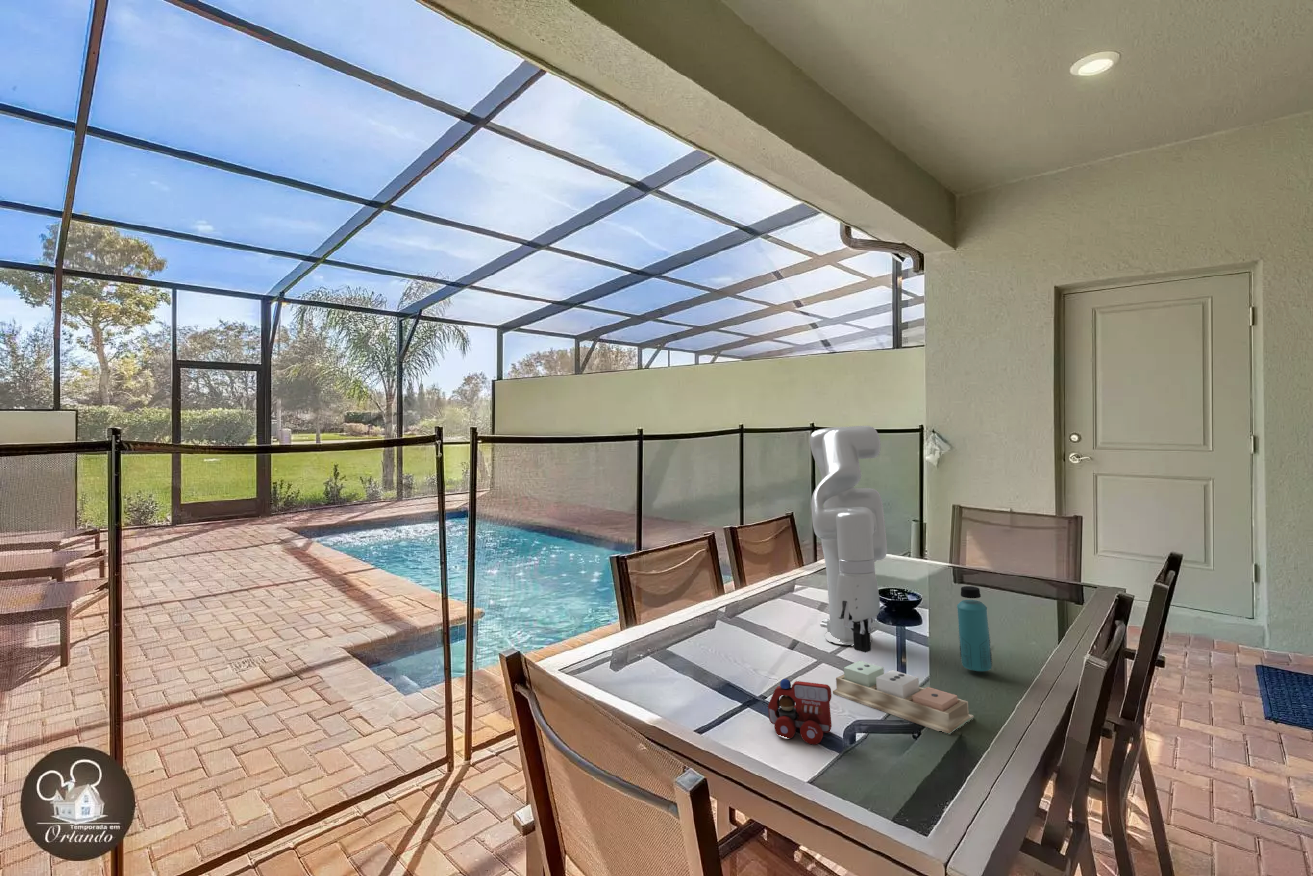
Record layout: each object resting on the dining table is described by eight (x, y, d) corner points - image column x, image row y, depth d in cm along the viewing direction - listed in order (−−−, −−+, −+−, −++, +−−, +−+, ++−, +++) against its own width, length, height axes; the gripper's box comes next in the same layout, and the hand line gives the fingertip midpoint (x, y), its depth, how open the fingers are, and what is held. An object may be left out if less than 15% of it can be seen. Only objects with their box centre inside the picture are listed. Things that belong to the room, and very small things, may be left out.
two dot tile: (844, 683, 129) (843, 667, 129) (860, 676, 133) (859, 660, 133) (868, 691, 124) (867, 674, 124) (884, 683, 128) (883, 667, 128)
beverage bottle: (997, 678, 133) (991, 590, 133) (965, 677, 134) (959, 590, 134) (987, 667, 139) (981, 583, 139) (957, 667, 140) (951, 584, 141)
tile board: (832, 693, 130) (831, 678, 130) (858, 681, 135) (857, 666, 135) (949, 735, 109) (948, 716, 109) (973, 718, 115) (972, 701, 115)
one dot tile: (913, 713, 116) (912, 695, 116) (929, 704, 120) (927, 686, 120) (943, 723, 112) (941, 704, 112) (958, 713, 115) (957, 695, 115)
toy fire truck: (776, 721, 119) (773, 669, 119) (838, 732, 112) (834, 678, 113) (765, 736, 113) (761, 682, 113) (829, 749, 106) (826, 691, 107)
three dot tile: (877, 694, 123) (875, 677, 123) (893, 686, 126) (891, 669, 126) (903, 703, 118) (902, 685, 118) (919, 694, 122) (918, 677, 122)
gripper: (861, 560, 137) (867, 639, 136) (821, 569, 128) (827, 654, 127) (891, 563, 131) (897, 646, 130) (851, 574, 122) (857, 663, 121)
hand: (862, 650), depth 128 cm, fingers closed
